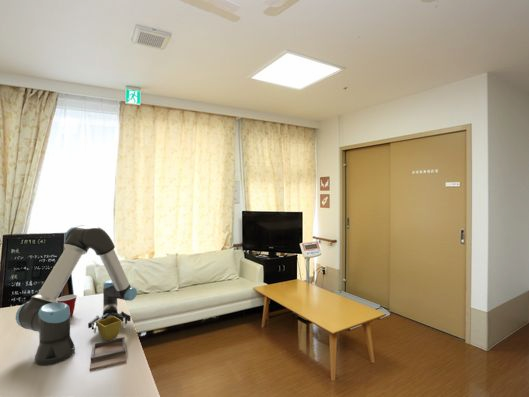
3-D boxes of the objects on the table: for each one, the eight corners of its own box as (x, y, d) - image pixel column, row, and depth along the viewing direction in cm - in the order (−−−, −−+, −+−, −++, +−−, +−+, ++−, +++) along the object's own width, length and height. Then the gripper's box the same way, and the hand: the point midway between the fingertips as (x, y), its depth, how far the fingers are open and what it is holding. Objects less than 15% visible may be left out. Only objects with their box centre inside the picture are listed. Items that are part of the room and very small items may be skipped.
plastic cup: (73, 311, 188) (73, 292, 188) (80, 315, 181) (80, 296, 181) (53, 316, 180) (53, 297, 179) (59, 321, 173) (59, 301, 173)
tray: (125, 362, 133) (125, 357, 133) (89, 371, 127) (89, 365, 127) (124, 341, 151) (124, 337, 151) (92, 348, 145) (92, 343, 145)
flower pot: (104, 344, 149) (104, 326, 148) (96, 338, 154) (96, 321, 154) (121, 337, 156) (121, 320, 155) (113, 332, 161) (113, 315, 161)
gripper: (133, 314, 178) (136, 329, 159) (85, 323, 167) (81, 340, 148) (133, 302, 178) (136, 316, 159) (85, 309, 167) (81, 325, 148)
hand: (109, 327), depth 153 cm, fingers open, 13 cm apart
